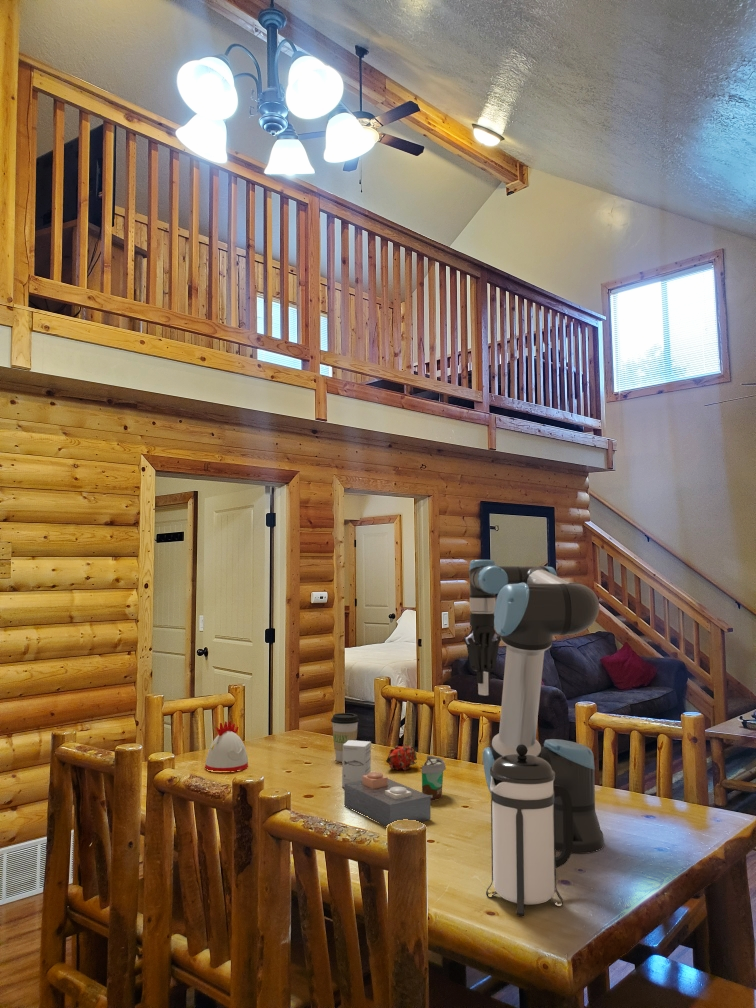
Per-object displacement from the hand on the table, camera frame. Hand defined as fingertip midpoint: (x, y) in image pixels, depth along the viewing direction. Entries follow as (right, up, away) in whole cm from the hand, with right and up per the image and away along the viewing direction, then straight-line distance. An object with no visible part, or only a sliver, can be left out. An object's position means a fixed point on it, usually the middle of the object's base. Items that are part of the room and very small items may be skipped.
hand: (483, 694), depth 209 cm
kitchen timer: (-81, -33, +30) cm, 92 cm away
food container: (-14, -30, 0) cm, 33 cm away
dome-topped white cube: (-25, -27, -19) cm, 41 cm away
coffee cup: (-42, -34, +41) cm, 68 cm away
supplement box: (-37, -31, +11) cm, 49 cm away
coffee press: (-1, -23, -66) cm, 70 cm away
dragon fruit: (-23, -33, +29) cm, 49 cm away
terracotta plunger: (-31, -26, -10) cm, 42 cm away
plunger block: (-28, -28, -15) cm, 42 cm away
